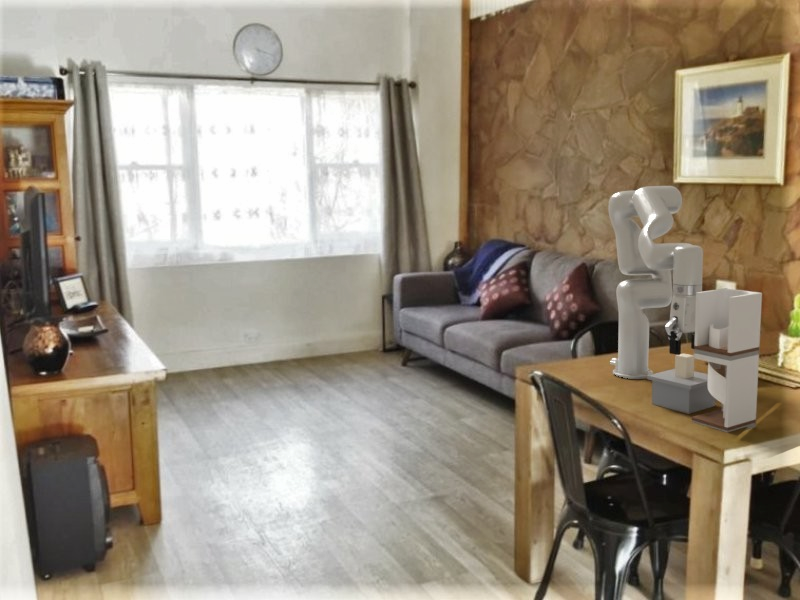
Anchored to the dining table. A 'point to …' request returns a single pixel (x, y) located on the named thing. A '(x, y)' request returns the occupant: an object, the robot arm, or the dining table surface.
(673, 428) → the dining table surface
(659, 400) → the open box
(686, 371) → the lid
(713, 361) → the display case
